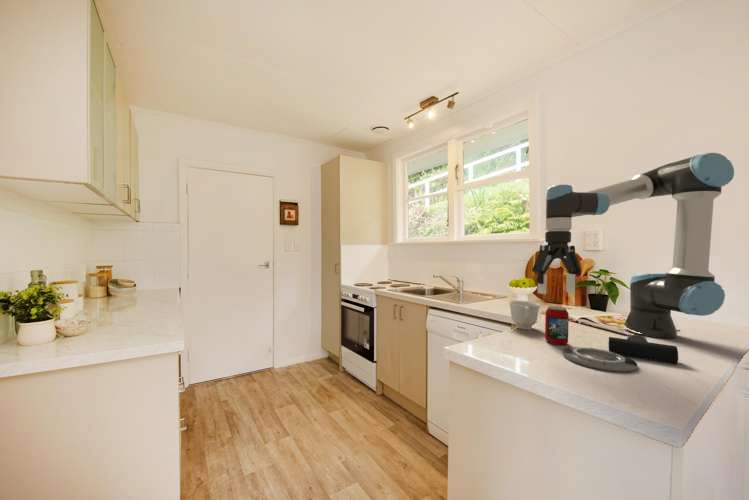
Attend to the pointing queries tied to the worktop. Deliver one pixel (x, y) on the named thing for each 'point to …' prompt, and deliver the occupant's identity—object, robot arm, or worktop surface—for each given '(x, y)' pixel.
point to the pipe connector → (643, 349)
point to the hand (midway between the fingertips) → (556, 293)
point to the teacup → (524, 313)
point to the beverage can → (556, 325)
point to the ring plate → (600, 359)
